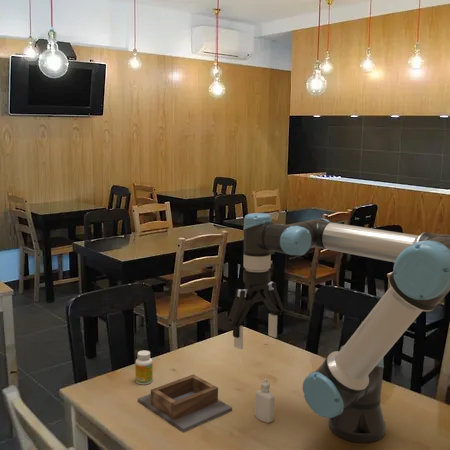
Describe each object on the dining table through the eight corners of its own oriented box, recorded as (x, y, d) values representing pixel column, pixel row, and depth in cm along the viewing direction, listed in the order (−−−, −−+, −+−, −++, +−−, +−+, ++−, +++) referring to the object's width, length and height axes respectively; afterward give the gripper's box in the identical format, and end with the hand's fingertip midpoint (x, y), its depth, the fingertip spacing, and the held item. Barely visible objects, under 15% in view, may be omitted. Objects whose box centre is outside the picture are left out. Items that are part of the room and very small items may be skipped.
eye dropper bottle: (268, 412, 161) (270, 374, 159) (274, 422, 155) (276, 382, 153) (254, 414, 160) (255, 375, 158) (259, 424, 154) (261, 384, 152)
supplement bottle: (147, 386, 175) (147, 357, 174) (132, 383, 177) (132, 354, 175) (155, 379, 180) (155, 350, 179) (140, 376, 182) (140, 348, 180)
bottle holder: (232, 410, 162) (232, 393, 161) (183, 432, 150) (183, 413, 149) (185, 384, 178) (185, 367, 177) (137, 401, 166) (137, 384, 165)
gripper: (277, 260, 165) (276, 328, 169) (214, 273, 149) (214, 349, 152) (296, 264, 160) (295, 335, 163) (232, 279, 143) (232, 357, 147)
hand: (256, 342), depth 158 cm, fingers open, 13 cm apart
